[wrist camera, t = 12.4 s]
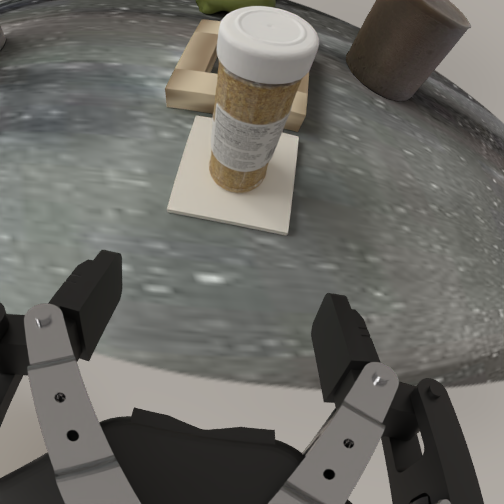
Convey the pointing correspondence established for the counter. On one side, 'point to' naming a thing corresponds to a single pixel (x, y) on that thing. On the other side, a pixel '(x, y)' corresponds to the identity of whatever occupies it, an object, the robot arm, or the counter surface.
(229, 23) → the sprinkles bottle
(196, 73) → the collar
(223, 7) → the pear
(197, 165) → the tile
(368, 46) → the pillar candle
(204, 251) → the counter surface
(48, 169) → the counter surface
